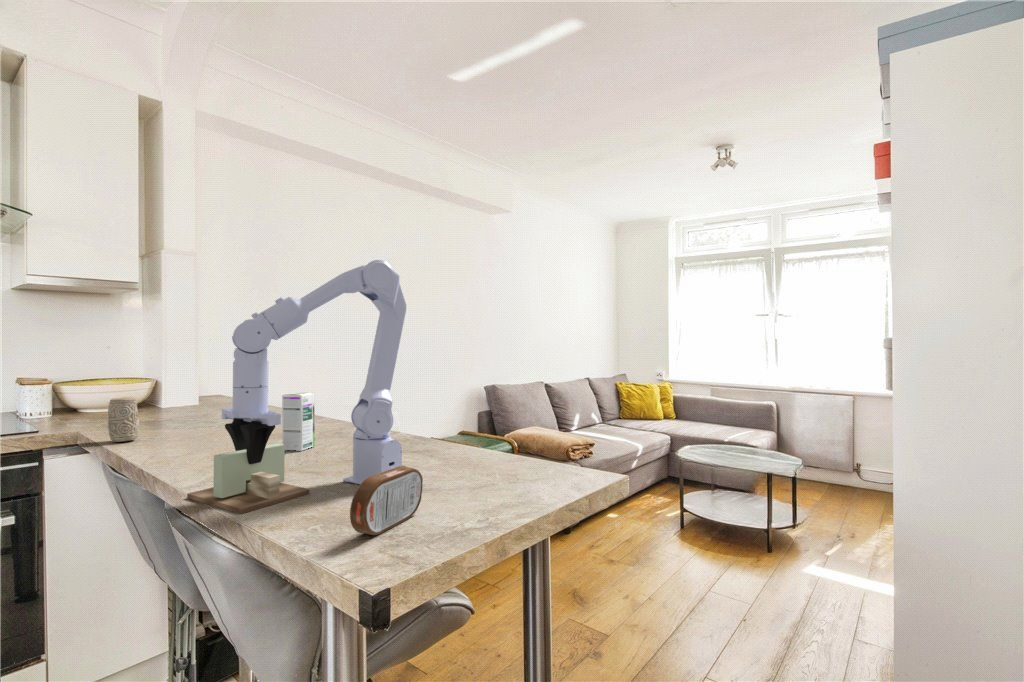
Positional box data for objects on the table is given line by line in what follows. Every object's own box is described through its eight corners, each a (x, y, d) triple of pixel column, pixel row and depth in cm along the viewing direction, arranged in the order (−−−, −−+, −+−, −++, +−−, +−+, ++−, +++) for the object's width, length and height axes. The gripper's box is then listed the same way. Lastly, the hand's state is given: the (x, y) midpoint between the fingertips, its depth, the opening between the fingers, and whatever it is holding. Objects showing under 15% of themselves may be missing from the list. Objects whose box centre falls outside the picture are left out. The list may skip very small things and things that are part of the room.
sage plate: (276, 479, 97) (276, 443, 97) (284, 481, 96) (284, 444, 96) (213, 496, 87) (213, 455, 87) (221, 498, 85) (222, 457, 86)
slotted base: (309, 493, 93) (309, 469, 93) (241, 513, 82) (242, 486, 82) (255, 481, 101) (255, 459, 101) (187, 498, 89) (187, 473, 89)
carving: (120, 439, 142) (121, 396, 142) (145, 439, 141) (146, 397, 141) (100, 443, 136) (101, 399, 136) (126, 444, 135) (127, 399, 135)
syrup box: (301, 451, 128) (302, 394, 128) (281, 450, 129) (281, 393, 129) (315, 447, 134) (315, 392, 134) (295, 446, 135) (295, 391, 135)
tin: (410, 509, 85) (410, 459, 85) (426, 512, 83) (426, 461, 83) (347, 541, 71) (348, 481, 71) (365, 545, 70) (366, 484, 70)
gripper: (205, 386, 91) (204, 461, 91) (254, 390, 84) (253, 472, 84) (242, 383, 97) (241, 454, 97) (291, 387, 90) (290, 463, 90)
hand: (249, 461), depth 91 cm, fingers closed on sage plate, 2 cm apart
